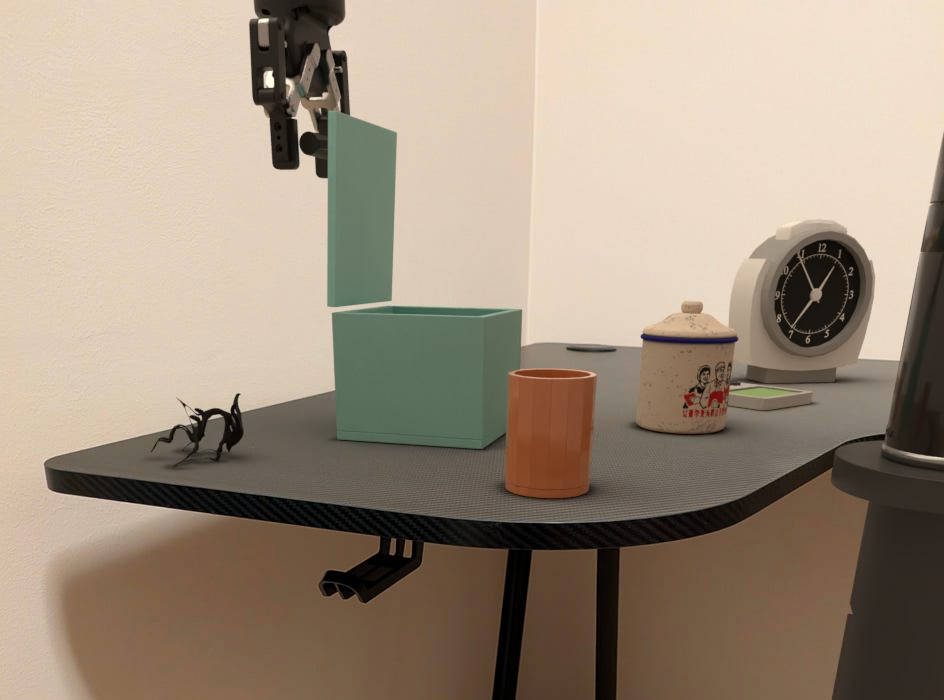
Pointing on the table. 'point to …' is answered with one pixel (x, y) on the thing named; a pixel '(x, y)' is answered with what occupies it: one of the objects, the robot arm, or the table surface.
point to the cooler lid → (357, 208)
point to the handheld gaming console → (765, 396)
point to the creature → (198, 432)
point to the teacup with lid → (685, 373)
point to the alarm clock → (802, 303)
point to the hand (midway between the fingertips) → (308, 174)
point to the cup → (549, 432)
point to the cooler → (424, 374)
